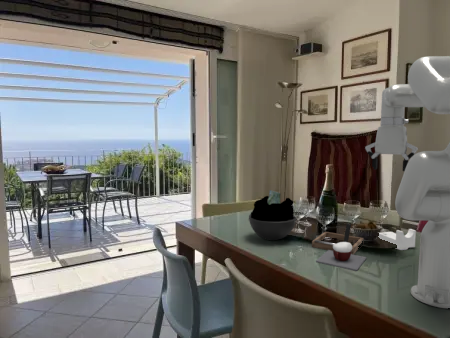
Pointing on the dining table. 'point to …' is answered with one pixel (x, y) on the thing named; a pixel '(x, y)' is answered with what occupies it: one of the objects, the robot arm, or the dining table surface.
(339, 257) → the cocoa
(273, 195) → the pale blue faceted lump
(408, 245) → the bracket
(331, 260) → the rubber mat
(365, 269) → the dining table surface
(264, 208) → the bowl of black rocks
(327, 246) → the tray
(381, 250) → the dining table surface
